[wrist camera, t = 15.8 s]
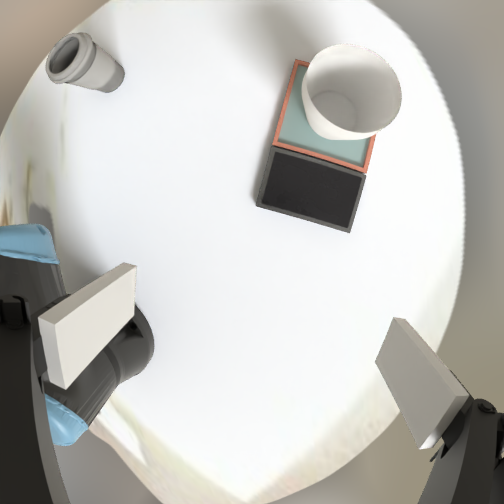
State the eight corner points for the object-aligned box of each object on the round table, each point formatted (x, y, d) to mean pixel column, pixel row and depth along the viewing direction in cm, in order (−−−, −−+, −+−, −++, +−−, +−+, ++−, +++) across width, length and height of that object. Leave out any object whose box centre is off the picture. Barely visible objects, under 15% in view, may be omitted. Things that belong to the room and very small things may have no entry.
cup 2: (320, 69, 31) (336, 26, 19) (379, 110, 32) (418, 83, 20) (282, 122, 33) (283, 94, 22) (343, 164, 34) (373, 156, 22)
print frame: (272, 145, 34) (272, 144, 34) (295, 62, 32) (295, 59, 31) (364, 173, 34) (366, 173, 33) (383, 90, 31) (385, 88, 30)
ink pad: (256, 205, 36) (255, 206, 35) (271, 147, 35) (271, 145, 33) (347, 231, 36) (350, 234, 34) (363, 175, 34) (367, 175, 32)
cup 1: (119, 50, 32) (75, 20, 21) (139, 75, 33) (94, 46, 22) (86, 82, 34) (36, 63, 22) (104, 108, 35) (51, 92, 23)
